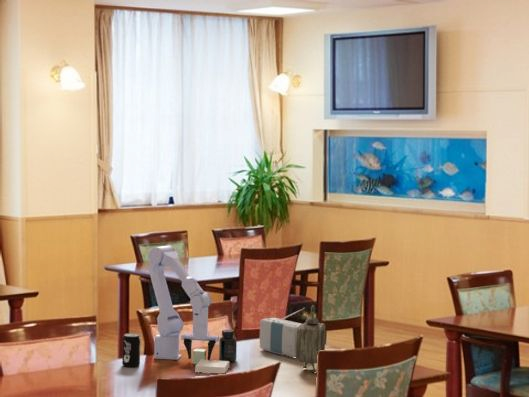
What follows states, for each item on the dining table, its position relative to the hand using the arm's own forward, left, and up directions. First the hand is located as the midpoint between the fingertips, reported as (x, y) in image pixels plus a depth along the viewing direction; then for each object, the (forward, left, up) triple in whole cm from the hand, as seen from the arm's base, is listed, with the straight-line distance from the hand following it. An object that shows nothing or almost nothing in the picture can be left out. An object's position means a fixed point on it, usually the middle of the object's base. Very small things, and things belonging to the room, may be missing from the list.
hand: (199, 359), depth 412 cm
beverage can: (-24, -12, -2) cm, 27 cm away
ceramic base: (+7, -11, -2) cm, 13 cm away
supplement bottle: (+10, +6, -2) cm, 12 cm away
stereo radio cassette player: (+30, +25, -2) cm, 39 cm away
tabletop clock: (+43, -2, -2) cm, 43 cm away
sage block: (0, 0, -2) cm, 2 cm away
